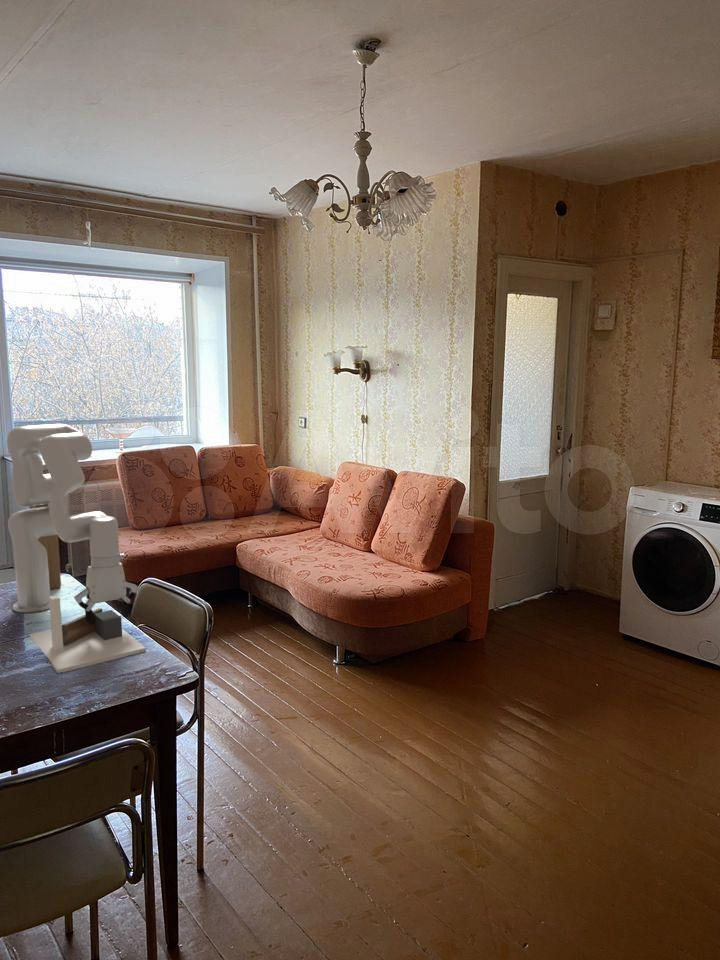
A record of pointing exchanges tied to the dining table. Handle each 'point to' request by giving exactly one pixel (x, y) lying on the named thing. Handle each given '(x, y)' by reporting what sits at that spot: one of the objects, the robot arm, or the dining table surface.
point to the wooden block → (52, 559)
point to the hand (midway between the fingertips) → (108, 619)
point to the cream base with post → (80, 645)
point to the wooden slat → (77, 628)
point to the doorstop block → (108, 624)
